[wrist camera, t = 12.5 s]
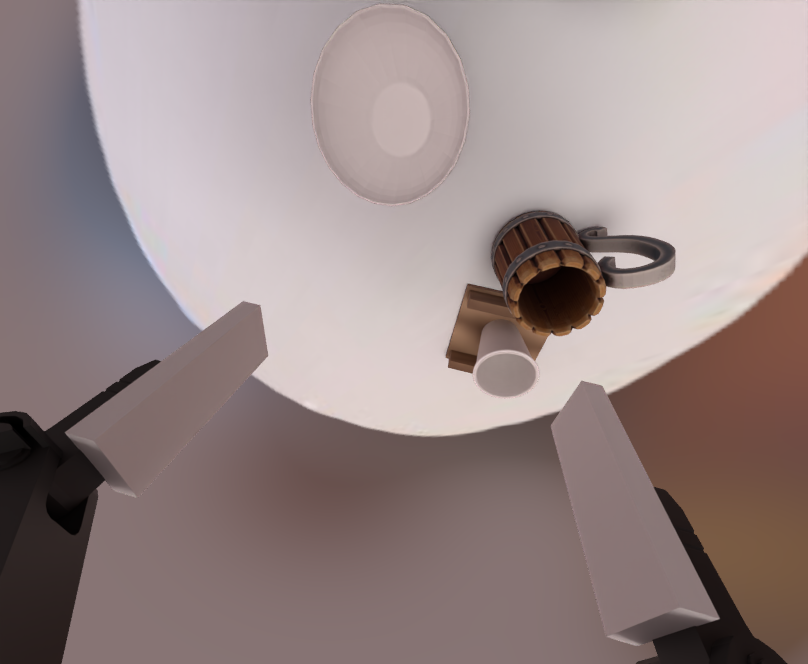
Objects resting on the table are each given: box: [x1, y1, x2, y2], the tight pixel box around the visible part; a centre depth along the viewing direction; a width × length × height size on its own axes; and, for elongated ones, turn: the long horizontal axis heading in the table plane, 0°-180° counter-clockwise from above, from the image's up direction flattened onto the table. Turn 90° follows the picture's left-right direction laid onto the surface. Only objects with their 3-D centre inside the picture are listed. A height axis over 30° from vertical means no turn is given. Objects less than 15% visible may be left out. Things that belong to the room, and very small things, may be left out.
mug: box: [491, 211, 675, 336], centre depth 33 cm, size 16×11×15 cm
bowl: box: [311, 3, 470, 206], centre depth 32 cm, size 16×16×7 cm
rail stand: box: [446, 284, 548, 373], centre depth 46 cm, size 14×14×4 cm
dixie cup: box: [473, 319, 540, 398], centre depth 43 cm, size 8×8×10 cm
